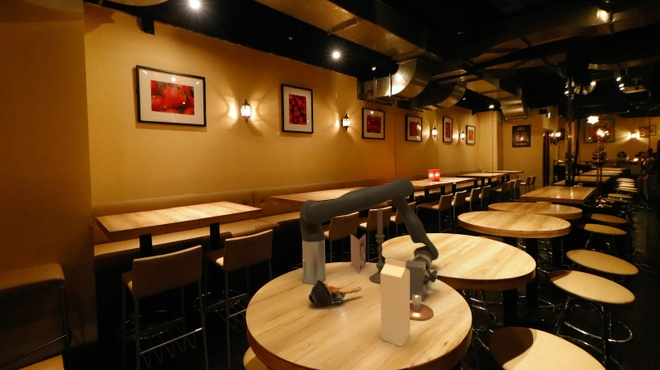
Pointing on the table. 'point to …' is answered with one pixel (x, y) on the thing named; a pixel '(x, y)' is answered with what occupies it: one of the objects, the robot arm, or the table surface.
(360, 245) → the greeting card
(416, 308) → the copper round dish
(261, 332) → the table surface
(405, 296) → the milk
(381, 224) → the candlestick holder
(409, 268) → the grey rectangular block
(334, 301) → the fried shrimp in bowl
